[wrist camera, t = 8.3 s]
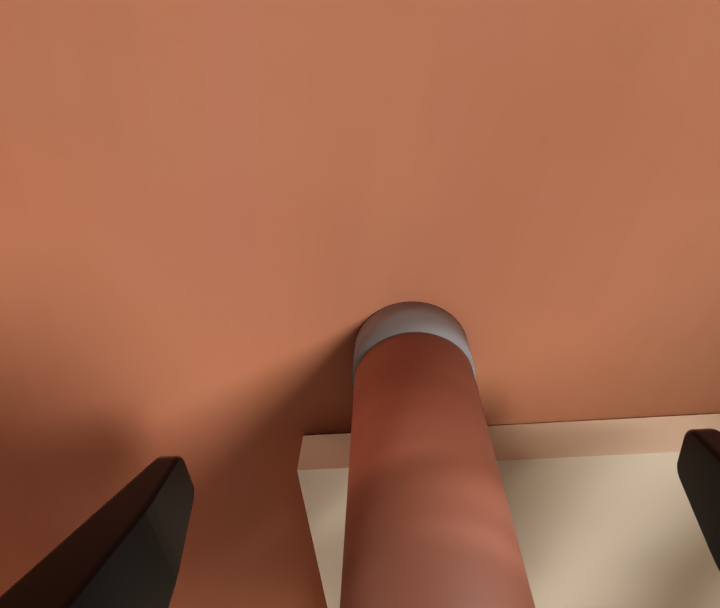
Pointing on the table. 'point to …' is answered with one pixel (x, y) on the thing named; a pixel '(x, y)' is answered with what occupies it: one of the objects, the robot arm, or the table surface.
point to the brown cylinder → (424, 474)
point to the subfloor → (565, 511)
